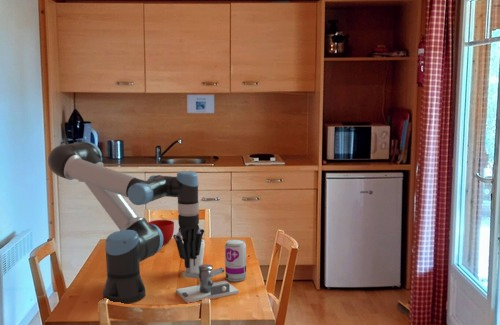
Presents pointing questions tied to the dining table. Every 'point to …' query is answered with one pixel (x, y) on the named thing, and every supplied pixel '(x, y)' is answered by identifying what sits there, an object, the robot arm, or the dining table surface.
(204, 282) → the capstan
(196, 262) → the foam cup
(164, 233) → the ceramic cup
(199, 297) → the stand
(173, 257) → the dining table surface
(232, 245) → the supplement can
